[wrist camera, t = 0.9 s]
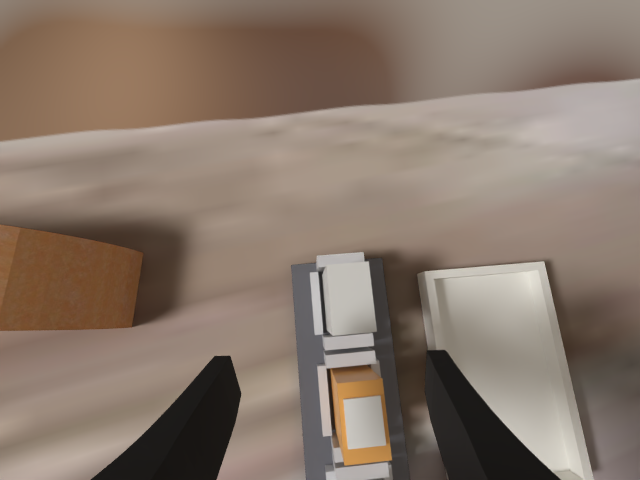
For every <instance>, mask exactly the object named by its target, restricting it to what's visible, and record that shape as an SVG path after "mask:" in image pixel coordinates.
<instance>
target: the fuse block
mask: <svg viewBox="0 0 640 480" xmlns="http://www.w3.org/2000/svg"><path fill="white" fill-rule="evenodd" d="M367 261H369V268H370V277H371V285H372V294H373V302H374V311H375V319H376V328H377V332H369V333H358V334H347V335H336V336H332V335H331V334H330V333H329V332H328V331H327V329H326V317H325V306H324V295H323V283H322V274H323V272H324V269H325V267H326V265H330V264H343V263H355V262H367ZM291 269H292V283H293V298H294V312H295V327H296V341H297V356H298V370H299V385H300V399H301V414H302V428H303V443H304V457H305V472H306V480H369V479H378V478H382V480H410V476H409V468H408V460H407V452H406V444H405V436H404V428H403V420H402V412H401V405H400V397H399V389H398V381H397V373H396V365H395V357H394V349H393V341H392V333H391V325H390V317H389V309H388V301H387V294H386V286H385V278H384V270H383V262H382V258H373V259H364V252H358V253H345V254H333V255H320V256H317V259H316V263H311V264H298V265H291ZM358 365H367V366H368V367H370V368H371V369H372V370H373V371H374V372H375V373H376V374H378V375H379V376H380V377H381V378H382V379H383V387H384V396H385V404H386V413H387V421H388V430H389V438H390V447H391V456H392V460H390V461H381V462H372V463H363V464H355V465H346V466H345V465H344V461H343V457H342V453H341V449H340V445H339V441H338V437H337V433H336V429H335V420H334V409H333V398H332V386H331V375H330V368H337V367H348V366H358Z"/></svg>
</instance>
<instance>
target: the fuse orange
mask: <svg viewBox="0 0 640 480" xmlns="http://www.w3.org/2000/svg"><path fill="white" fill-rule="evenodd" d="M330 375H331V386H332V398H333V409H334V420H335V429H336V433H337V437H338V441H339V445H340V449H341V453H342V457H343V461H344V465H345V466H346V465H355V464H363V463H372V462H381V461H390V460H392V456H391V447H390V438H389V430H388V421H387V413H386V404H385V396H384V387H383V379H382V378H381V377H380V376H379V375H378V374H376V373H375V372H374V371H373V370H372V369H371V368H370V367H368V366H367V365H358V366H348V367H337V368H330Z"/></svg>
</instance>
